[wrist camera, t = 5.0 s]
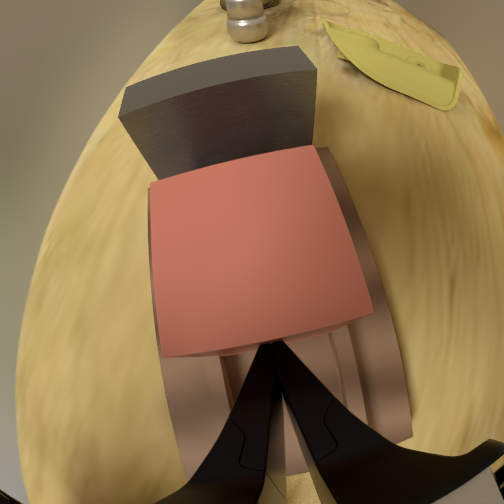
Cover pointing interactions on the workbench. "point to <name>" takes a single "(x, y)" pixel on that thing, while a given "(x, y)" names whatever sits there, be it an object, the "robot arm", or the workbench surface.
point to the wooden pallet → (310, 353)
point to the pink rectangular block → (252, 256)
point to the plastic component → (398, 66)
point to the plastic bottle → (246, 20)
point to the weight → (267, 1)
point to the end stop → (222, 110)
